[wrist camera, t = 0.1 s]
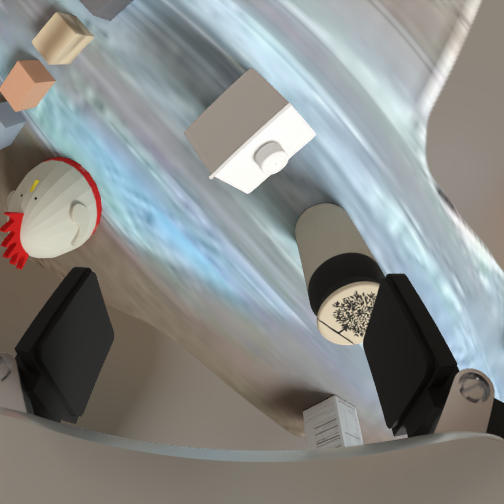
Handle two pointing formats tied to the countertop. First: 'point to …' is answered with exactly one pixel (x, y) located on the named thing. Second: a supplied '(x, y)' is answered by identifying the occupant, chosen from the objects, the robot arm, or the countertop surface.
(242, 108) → the milk carton
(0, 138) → the slate block
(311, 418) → the supplement box
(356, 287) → the travel mug
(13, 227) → the kitchen timer
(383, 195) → the countertop surface
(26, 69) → the terracotta block
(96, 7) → the charcoal block
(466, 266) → the countertop surface
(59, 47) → the maple block
